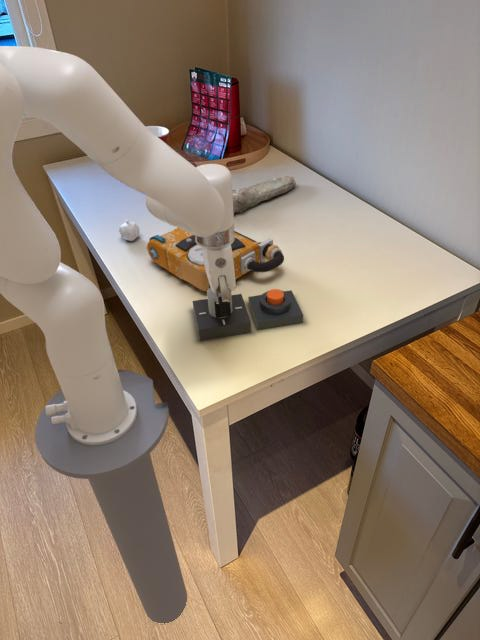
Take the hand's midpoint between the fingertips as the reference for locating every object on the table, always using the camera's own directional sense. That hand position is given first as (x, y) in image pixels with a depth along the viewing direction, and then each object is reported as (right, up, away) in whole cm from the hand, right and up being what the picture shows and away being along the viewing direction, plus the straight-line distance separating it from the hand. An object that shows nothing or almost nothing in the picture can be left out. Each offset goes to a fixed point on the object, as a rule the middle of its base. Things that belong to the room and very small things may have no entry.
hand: (220, 306), depth 103 cm
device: (-2, +10, +19) cm, 22 cm away
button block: (+12, -1, +4) cm, 13 cm away
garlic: (-26, +20, +32) cm, 46 cm away
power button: (+12, +1, +2) cm, 12 cm away
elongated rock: (+8, +34, +46) cm, 58 cm away
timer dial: (0, -1, +1) cm, 1 cm away
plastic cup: (-25, +53, +72) cm, 93 cm away
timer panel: (0, -3, +3) cm, 4 cm away
